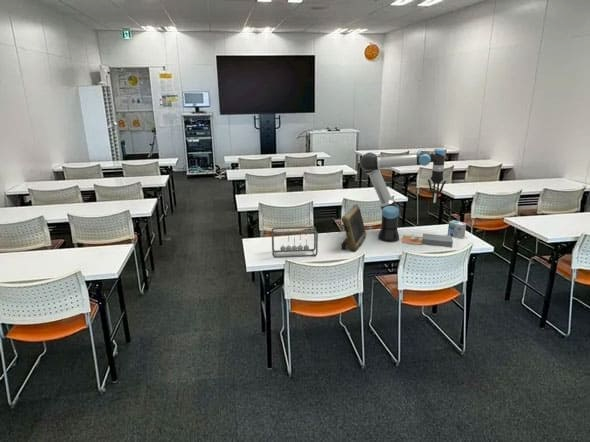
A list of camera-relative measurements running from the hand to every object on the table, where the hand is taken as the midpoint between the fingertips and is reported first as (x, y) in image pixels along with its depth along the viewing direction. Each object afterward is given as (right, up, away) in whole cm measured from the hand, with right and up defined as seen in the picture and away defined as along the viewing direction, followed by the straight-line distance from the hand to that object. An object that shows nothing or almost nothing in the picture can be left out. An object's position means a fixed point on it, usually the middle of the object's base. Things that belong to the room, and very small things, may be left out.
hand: (434, 202), depth 292 cm
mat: (-16, -28, 0) cm, 32 cm away
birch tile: (-13, -28, -1) cm, 31 cm away
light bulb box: (+19, -25, +9) cm, 33 cm away
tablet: (-60, -30, -5) cm, 67 cm away
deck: (0, -29, -5) cm, 30 cm away
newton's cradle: (-102, -36, -23) cm, 111 cm away
